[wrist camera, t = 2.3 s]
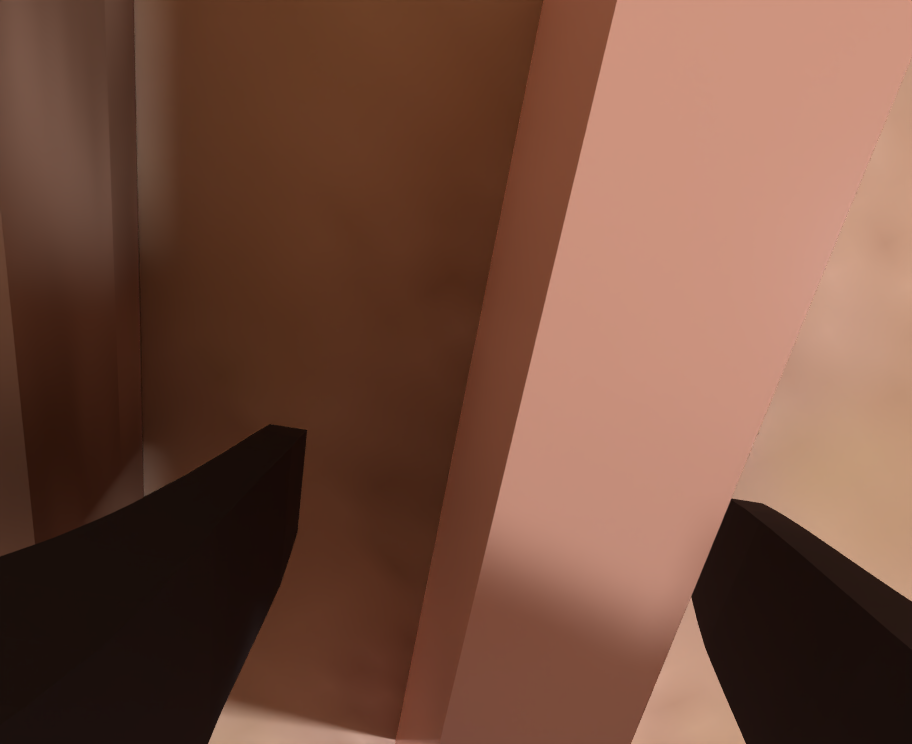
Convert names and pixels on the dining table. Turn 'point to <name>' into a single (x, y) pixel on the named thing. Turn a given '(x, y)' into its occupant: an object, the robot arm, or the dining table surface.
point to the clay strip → (634, 342)
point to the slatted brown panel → (68, 268)
